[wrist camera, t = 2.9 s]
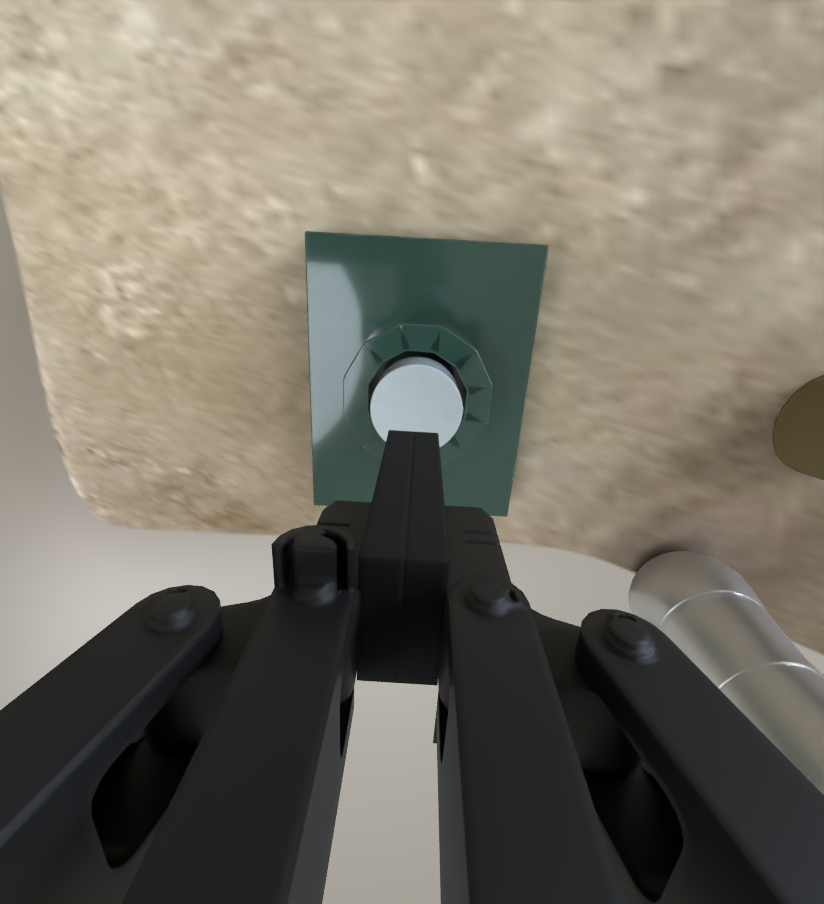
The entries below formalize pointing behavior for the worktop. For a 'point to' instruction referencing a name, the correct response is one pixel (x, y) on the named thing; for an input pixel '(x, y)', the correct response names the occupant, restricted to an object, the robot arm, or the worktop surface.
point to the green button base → (420, 353)
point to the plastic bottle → (737, 650)
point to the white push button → (417, 399)
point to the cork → (802, 430)
